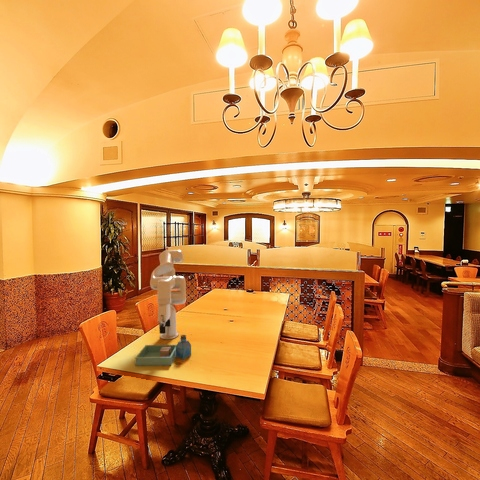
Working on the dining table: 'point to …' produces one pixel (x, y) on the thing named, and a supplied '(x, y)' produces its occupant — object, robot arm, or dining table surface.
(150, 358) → the tote
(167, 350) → the walnut cube
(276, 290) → the dining table surface
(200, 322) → the dining table surface
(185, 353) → the perfume bottle
